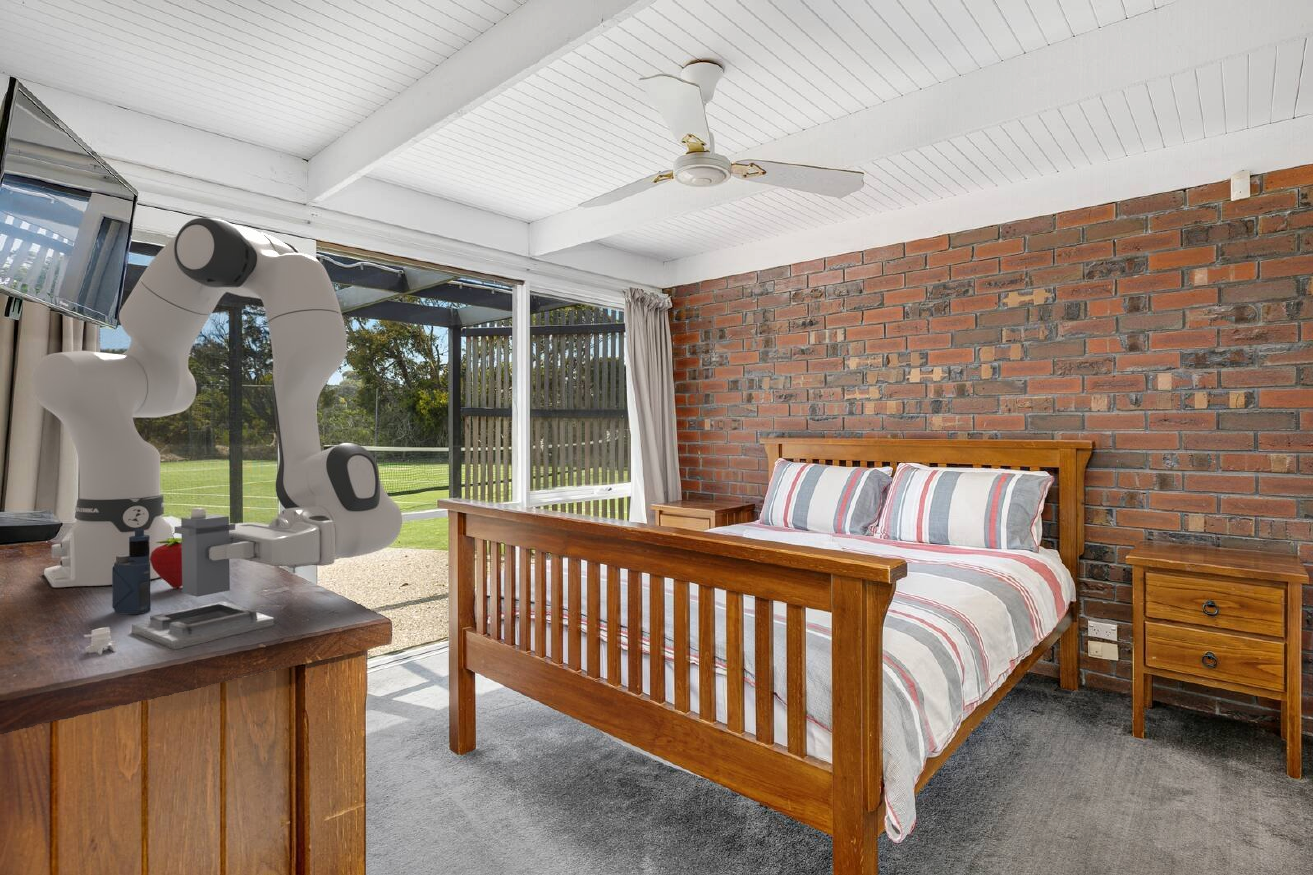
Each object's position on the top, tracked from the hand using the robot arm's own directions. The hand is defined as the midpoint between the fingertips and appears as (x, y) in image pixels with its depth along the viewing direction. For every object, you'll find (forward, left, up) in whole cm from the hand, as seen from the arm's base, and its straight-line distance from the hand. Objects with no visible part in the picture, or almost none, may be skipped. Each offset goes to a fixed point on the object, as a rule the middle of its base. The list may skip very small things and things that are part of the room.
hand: (198, 551), depth 90 cm
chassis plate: (0, +1, -11) cm, 11 cm away
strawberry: (-27, +9, -11) cm, 30 cm away
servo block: (0, +1, -5) cm, 6 cm away
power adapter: (0, -11, -11) cm, 15 cm away
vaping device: (-17, -1, -11) cm, 20 cm away
